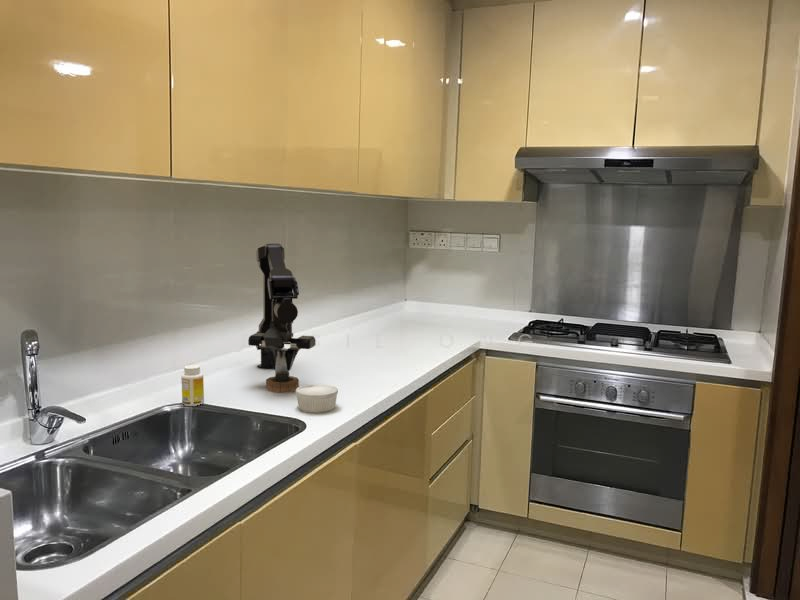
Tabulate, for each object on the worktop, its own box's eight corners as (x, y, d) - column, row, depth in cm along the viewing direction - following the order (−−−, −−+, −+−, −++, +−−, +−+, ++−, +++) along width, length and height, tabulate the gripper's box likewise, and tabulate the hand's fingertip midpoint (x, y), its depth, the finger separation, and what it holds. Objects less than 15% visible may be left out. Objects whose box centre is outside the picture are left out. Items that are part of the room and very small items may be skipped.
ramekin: (317, 399, 183) (317, 381, 182) (346, 407, 176) (347, 388, 175) (286, 408, 174) (286, 389, 174) (316, 417, 167) (316, 397, 166)
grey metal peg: (278, 377, 196) (278, 347, 194) (291, 378, 195) (291, 348, 194) (273, 381, 192) (272, 350, 191) (286, 382, 191) (286, 351, 190)
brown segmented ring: (273, 382, 199) (273, 374, 199) (302, 385, 197) (302, 376, 197) (261, 390, 190) (261, 382, 190) (291, 393, 188) (291, 384, 188)
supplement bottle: (205, 400, 180) (204, 364, 178) (201, 406, 174) (200, 369, 173) (184, 401, 179) (183, 364, 178) (180, 407, 174) (178, 369, 172)
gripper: (239, 319, 185) (240, 374, 187) (303, 323, 181) (303, 378, 183) (256, 313, 196) (256, 365, 198) (316, 317, 192) (316, 369, 194)
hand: (282, 369), depth 193 cm, fingers closed on grey metal peg, 4 cm apart
